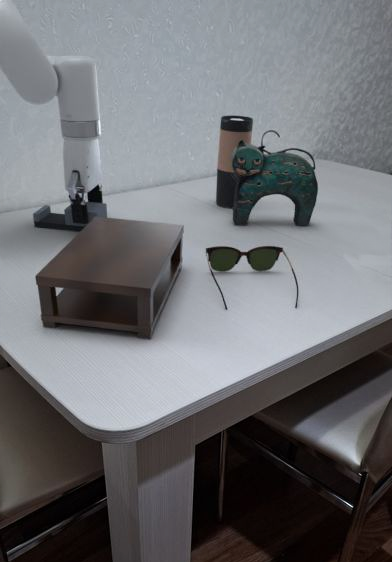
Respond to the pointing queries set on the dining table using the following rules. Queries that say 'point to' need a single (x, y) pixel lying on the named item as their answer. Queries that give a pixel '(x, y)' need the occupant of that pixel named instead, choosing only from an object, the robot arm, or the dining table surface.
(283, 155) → the ceramic cat
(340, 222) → the dining table surface
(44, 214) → the dark grey stepped block
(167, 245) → the coffee table
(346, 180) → the dining table surface
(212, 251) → the sunglasses
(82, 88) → the robot arm
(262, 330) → the dining table surface
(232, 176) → the travel mug
